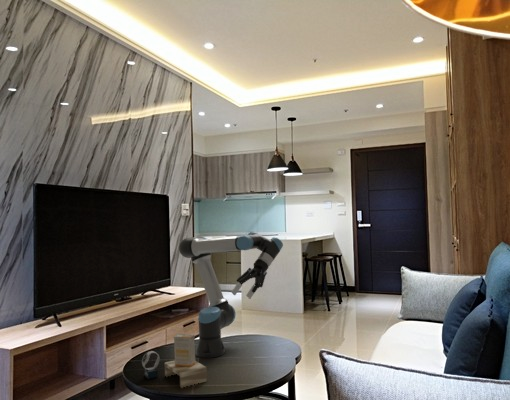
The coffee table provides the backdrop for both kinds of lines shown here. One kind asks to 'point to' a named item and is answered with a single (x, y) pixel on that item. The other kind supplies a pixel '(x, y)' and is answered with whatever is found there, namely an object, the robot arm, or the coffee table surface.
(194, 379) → the grooved beige block
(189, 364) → the supplement box
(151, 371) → the watch
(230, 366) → the coffee table surface
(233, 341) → the coffee table surface
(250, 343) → the coffee table surface
